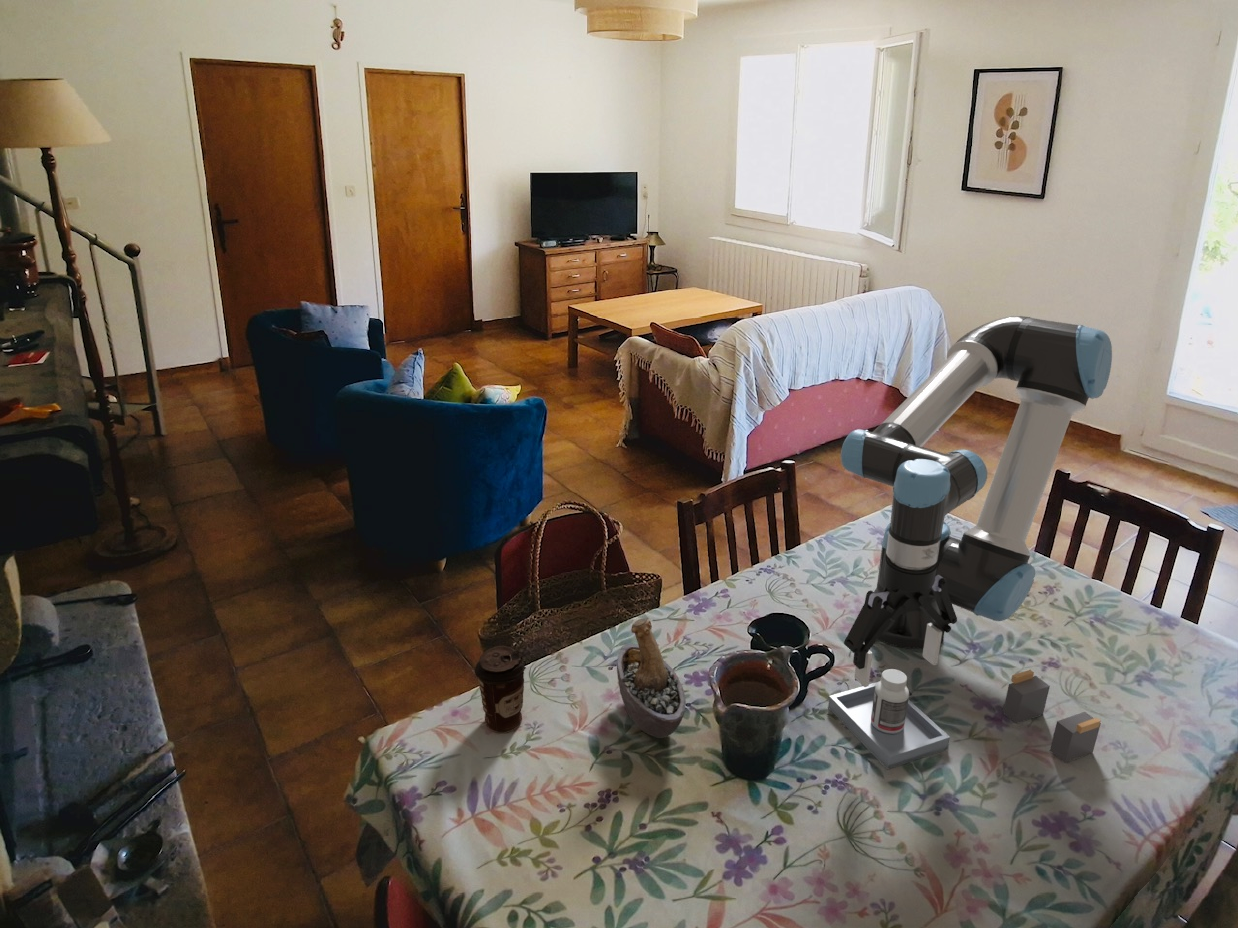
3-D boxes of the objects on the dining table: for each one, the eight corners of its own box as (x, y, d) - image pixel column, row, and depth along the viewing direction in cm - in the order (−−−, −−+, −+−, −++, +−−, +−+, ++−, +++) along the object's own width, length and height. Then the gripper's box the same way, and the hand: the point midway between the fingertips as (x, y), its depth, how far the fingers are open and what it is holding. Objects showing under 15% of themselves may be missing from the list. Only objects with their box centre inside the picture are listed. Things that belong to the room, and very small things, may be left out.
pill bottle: (910, 727, 141) (918, 679, 137) (888, 739, 138) (896, 690, 134) (885, 709, 145) (892, 662, 141) (863, 720, 142) (870, 672, 138)
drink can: (539, 713, 146) (535, 650, 140) (513, 744, 139) (509, 679, 134) (496, 699, 149) (491, 638, 144) (469, 728, 142) (463, 665, 137)
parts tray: (828, 707, 147) (829, 695, 146) (884, 690, 151) (886, 679, 150) (887, 769, 133) (889, 757, 132) (947, 749, 137) (950, 736, 136)
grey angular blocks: (1000, 710, 146) (1007, 676, 143) (1026, 702, 148) (1034, 668, 145) (1067, 764, 134) (1077, 728, 131) (1095, 754, 136) (1105, 719, 133)
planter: (628, 680, 154) (627, 586, 146) (712, 710, 146) (716, 612, 138) (584, 728, 142) (582, 629, 134) (673, 764, 134) (676, 660, 126)
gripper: (858, 589, 122) (846, 705, 130) (993, 552, 130) (973, 664, 139) (828, 564, 128) (818, 676, 137) (958, 531, 136) (941, 639, 145)
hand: (896, 670), depth 138 cm, fingers open, 13 cm apart
